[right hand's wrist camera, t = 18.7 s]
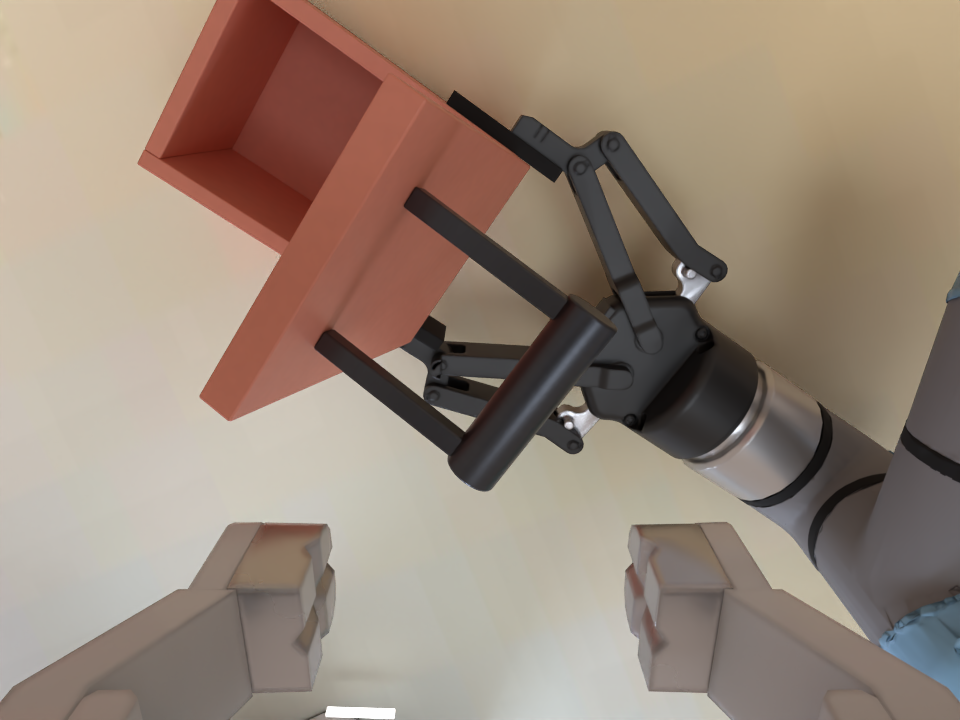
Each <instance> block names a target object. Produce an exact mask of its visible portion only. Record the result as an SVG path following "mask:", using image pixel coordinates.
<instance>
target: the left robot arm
mask: <svg viewBox="0 0 960 720" xmlns="http://www.w3.org/2000/svg"><path fill="white" fill-rule="evenodd" d="M446 104H447V105H449V106H450V107H451V108H453V109H454V110H455V111H457V112H458V113H460V114H461V115H462V116H464V117H465V118H466V119H468V120H469V121H471V122H472V123H473V124H475V125H476V126H477V127H479V128H480V129H482V130H483V131H484V132H486V133H487V134H488V135H490V136H491V137H493V138H494V139H495V140H497V141H498V142H499V143H501V144H502V145H503V146H505V147H506V148H508V149H509V150H510V151H512V152H513V153H514V154H516V155H517V156H518V157H519V158H521V159H522V160H524V161H525V162H526V163H528V164H529V165H531V166H532V167H533V168H535V169H536V170H537V171H539V172H540V173H542V174H543V175H544V176H546V177H547V178H549V179H550V180H551V181H553V182H554V183H555V181H556V180H557V178H558V177H559V175H560V174H561V173H562V171H563V172H565V175H566V177H567V180H568V182H569V185H570V187H571V189H572V192H573V194H574V197H575V199H576V202H577V204H578V207H579V209H580V211H581V214H582V216H583V219H584V221H585V224H586V226H587V229H588V231H589V234H590V236H591V238H592V241H593V243H594V246H595V248H596V251H597V253H598V256H599V258H600V260H601V263H602V265H603V268H604V270H605V273H606V277H607V279H608V282H609V284H610V287H611V289H612V292H613V295H611V296H610V297H608V298H607V299H606V298H604V297H603V299H602V300H601V301H600V303H599V304H598V305H597V306H596V309H598V310H599V311H600V312H601V313H603V314H604V315H605V316H606V317H607V318H609V319H610V320H611V321H612V322H613V323H614V324H615V326H616V327H617V333H616V334H615V335H614V336H613V338H612V339H611V340H610V341H609V343H608V344H607V345H606V346H605V348H604V349H603V350H602V351H601V353H600V354H599V355H598V356H597V358H596V359H595V360H594V361H593V363H592V364H591V365H590V366H589V368H588V369H587V370H586V371H585V373H584V374H583V375H582V376H581V378H580V379H579V380H578V381H577V383H576V384H575V385H574V386H579V387H581V390H582V393H583V396H584V399H585V404H583V405H582V406H580V407H573V406H570V405H565V404H563V405H561V406H560V407H559V408H556V409H555V410H554V412H553V413H552V414H551V415H550V417H549V418H548V419H547V420H546V422H545V423H544V424H543V425H542V427H541V428H540V429H539V430H538V432H537V433H536V435H540V436H543V437H546V438H547V439H548V440H550V441H551V442H553V443H554V444H556V445H557V446H558V447H560V448H561V449H563V450H564V451H566V452H567V453H569V454H576V453H579V452H580V451H581V450H582V449H583V445H584V443H583V440H582V438H583V437H584V436H585V434H586V433H587V432H588V431H589V430H590V429H591V428H592V427H593V426H594V425H595V423H596V422H597V421H598V420H599V419H603V420H613V421H617V422H620V423H622V424H623V425H625V426H626V427H628V428H629V429H631V430H632V431H634V432H635V433H637V434H638V435H640V436H641V437H643V438H645V439H646V440H648V441H649V442H651V443H652V444H654V445H655V446H657V447H658V448H660V449H662V450H663V451H665V452H666V453H668V454H669V455H671V456H673V457H674V458H677V459H682V461H683V463H684V464H685V465H687V466H688V467H689V468H691V469H692V470H694V471H695V472H697V473H699V474H700V475H702V476H703V477H705V478H707V479H708V480H710V481H711V482H713V483H714V484H716V485H718V486H719V487H721V488H722V489H724V490H726V491H727V492H729V493H730V494H732V495H734V496H735V497H737V498H738V499H740V500H741V501H743V502H744V503H746V504H747V505H749V506H751V507H752V508H754V509H755V510H757V511H758V512H760V513H761V514H763V515H764V516H766V517H767V518H769V519H770V520H772V521H773V522H775V523H776V524H777V525H779V526H780V527H781V528H783V529H784V530H785V531H786V532H787V533H789V534H790V535H791V536H792V537H793V539H794V540H795V541H796V542H797V543H798V545H799V546H800V548H801V549H802V550H803V552H804V553H805V554H806V556H807V557H808V558H809V560H810V561H811V562H812V564H813V565H814V566H815V568H816V569H817V570H818V571H819V572H820V573H821V574H822V576H823V577H824V578H825V580H826V581H827V583H828V584H829V585H830V587H831V588H832V589H833V591H834V592H835V593H836V595H837V596H838V598H839V599H840V600H841V602H842V603H843V604H844V606H845V607H846V609H847V610H848V611H849V613H850V614H851V615H852V617H853V618H854V619H855V621H856V622H857V624H858V625H859V626H860V628H861V629H862V630H863V632H864V633H865V635H866V636H867V637H868V639H869V640H870V641H871V642H872V643H873V644H875V645H877V646H878V647H880V648H882V649H884V650H885V651H887V652H889V653H890V654H892V655H894V656H895V657H897V658H899V659H900V660H902V661H904V662H905V663H907V664H909V665H911V666H912V667H914V668H916V669H917V670H919V671H921V672H922V673H924V674H926V675H927V676H929V677H931V678H932V679H934V680H936V681H938V682H939V683H941V684H943V685H944V686H946V687H948V688H949V689H950V691H951V692H952V693H953V694H954V696H955V697H956V698H957V699H958V700H959V702H960V272H959V274H958V276H957V278H956V280H955V283H954V285H953V287H952V289H951V290H950V291H949V292H948V294H947V298H946V303H948V304H947V307H946V310H945V313H944V316H943V318H942V321H941V324H940V327H939V330H938V333H937V336H936V339H935V341H934V344H933V347H932V350H931V353H930V356H929V359H928V361H927V364H926V367H925V370H924V373H923V376H922V379H921V382H920V384H919V387H918V390H917V393H916V396H915V399H914V402H913V405H912V407H911V410H910V413H909V416H908V419H907V420H906V423H905V426H904V428H903V431H902V434H901V435H900V438H899V441H898V444H897V446H896V449H895V452H894V453H893V452H891V451H887V450H886V449H885V448H883V447H882V446H880V445H879V444H877V443H876V442H875V441H873V440H872V439H870V438H869V437H868V436H866V435H865V434H863V433H862V432H860V431H859V430H857V429H856V428H854V427H853V426H851V425H850V424H848V423H847V422H845V421H844V420H842V419H841V418H839V417H838V416H836V415H835V414H833V413H832V412H830V411H829V410H827V409H826V408H824V407H823V406H822V405H821V404H820V403H819V402H817V401H816V400H815V399H814V398H812V397H811V396H810V395H808V394H807V393H805V392H804V391H803V390H801V389H800V388H798V387H797V386H796V385H794V384H793V383H791V382H790V381H789V380H787V379H786V378H784V377H783V376H782V375H780V374H779V373H778V372H776V371H775V370H773V369H772V368H771V367H769V366H768V365H766V364H764V363H763V362H761V361H756V360H755V358H754V357H753V355H752V354H751V353H749V352H748V351H746V350H745V349H744V348H742V347H741V346H739V345H738V344H737V343H735V342H734V341H732V340H731V339H730V338H728V337H727V336H725V335H724V334H723V333H721V332H720V331H718V330H717V329H716V328H714V327H713V326H711V325H710V324H709V323H707V322H706V321H704V320H703V319H702V318H701V317H700V316H699V314H698V312H697V309H696V307H695V305H694V304H695V303H696V301H697V300H698V299H699V297H700V296H701V295H702V293H703V292H704V290H705V289H706V288H707V286H708V285H709V284H710V282H718V281H721V280H722V279H723V278H724V277H725V276H726V274H727V269H728V268H727V265H726V264H725V263H724V262H723V261H722V260H720V259H719V258H717V257H716V256H714V255H713V254H711V253H710V252H708V251H706V250H705V249H703V248H702V247H700V246H699V245H698V244H697V243H696V241H695V240H694V239H693V237H692V236H691V234H690V233H689V231H688V230H687V228H686V227H685V225H684V224H683V223H682V221H681V220H680V218H679V217H678V215H677V214H676V212H675V211H674V209H673V208H672V207H671V205H670V204H669V202H668V201H667V199H666V198H665V196H664V195H663V194H662V192H661V191H660V189H659V188H658V186H657V185H656V183H655V182H654V180H653V179H652V178H651V176H650V175H649V173H648V172H647V170H646V169H645V167H644V166H643V165H642V163H641V162H640V160H639V159H638V157H637V156H636V154H635V153H634V151H633V150H632V149H631V147H630V146H629V144H628V143H627V141H626V140H625V138H624V137H623V136H622V135H621V134H620V133H618V132H613V131H601V132H599V133H598V134H597V135H596V136H595V137H594V138H593V139H591V140H590V141H589V142H587V143H586V144H584V145H583V146H580V147H573V146H571V145H569V144H568V143H567V142H565V141H564V140H563V139H561V138H560V137H559V136H557V135H556V134H555V133H553V132H552V131H551V130H549V129H548V128H547V127H545V126H544V125H542V124H541V123H540V122H538V121H537V120H536V119H534V118H533V117H528V116H524V115H521V116H520V117H519V119H518V120H517V122H516V124H515V125H514V127H513V128H512V130H511V131H509V130H508V129H507V128H505V127H504V126H503V125H501V124H500V123H499V122H497V121H496V120H494V119H493V118H492V117H490V116H489V115H488V114H486V113H485V112H483V111H482V110H481V109H479V108H478V107H477V106H475V105H474V104H473V103H471V102H470V101H468V100H467V99H466V98H464V97H463V96H462V95H460V94H459V93H457V92H456V91H455V90H454V92H453V93H452V95H451V97H450V98H449V100H448V101H447V103H446ZM603 164H605V165H606V166H607V168H608V169H609V171H610V172H611V173H612V175H613V176H614V178H615V179H616V180H617V182H618V183H619V185H620V186H621V188H622V189H623V190H624V192H625V193H626V195H627V196H628V197H629V199H630V200H631V202H632V203H633V204H634V206H635V207H636V209H637V210H638V212H639V213H640V214H641V216H642V217H643V219H644V220H645V221H646V223H647V224H648V226H649V227H650V228H651V230H652V231H653V233H654V234H655V236H656V237H657V238H658V240H659V241H660V243H661V244H662V245H663V246H664V248H665V249H666V250H667V251H668V252H669V253H670V254H671V255H672V256H674V257H675V258H676V260H675V261H674V263H673V265H672V272H673V274H674V275H675V277H676V278H677V280H678V288H677V289H676V291H649V292H643V289H642V287H641V284H640V282H639V280H638V278H637V276H636V274H635V272H634V270H633V267H632V264H631V262H630V259H629V257H628V254H627V252H626V249H625V247H624V244H623V242H622V239H621V237H620V234H619V231H618V229H617V226H616V224H615V221H614V219H613V216H612V214H611V211H610V209H609V206H608V203H607V201H606V198H605V196H604V193H603V191H602V188H601V186H600V183H599V181H598V178H597V175H596V173H595V170H596V169H598V168H599V167H600V166H602V165H603ZM445 331H446V326H445V325H443V324H442V323H440V322H439V321H437V320H436V319H434V318H432V317H431V316H428V317H427V319H426V320H425V322H424V323H423V324H422V326H421V327H420V329H419V330H418V332H417V333H416V335H415V336H414V338H413V339H412V341H411V342H410V343H407V344H405V345H403V346H401V347H400V348H402V349H403V350H405V351H406V352H408V353H409V354H411V355H413V356H414V357H416V358H417V359H419V360H421V361H422V362H423V363H424V364H425V365H426V367H427V369H428V374H427V378H426V383H425V388H424V394H423V397H424V400H425V401H426V402H427V403H428V404H430V405H433V406H437V407H440V408H444V409H447V410H451V411H455V412H458V413H462V414H465V415H469V416H472V417H476V418H477V416H478V415H479V414H480V412H481V411H482V410H483V408H484V407H485V406H486V404H487V403H488V402H489V400H490V399H491V398H492V396H493V395H494V394H495V392H496V391H497V390H498V388H497V387H494V386H491V385H487V384H484V383H480V382H477V381H473V380H470V379H466V378H463V377H459V376H464V377H481V378H498V379H506V378H507V376H508V375H509V374H510V372H511V371H512V370H513V368H514V367H515V366H516V365H517V363H518V362H519V361H520V359H521V358H522V357H523V355H524V354H525V353H526V351H527V350H528V349H529V347H530V346H519V345H502V344H485V343H468V342H451V341H444V337H445Z"/></svg>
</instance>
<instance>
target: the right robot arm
mask: <svg viewBox="0 0 960 720" xmlns="http://www.w3.org/2000/svg"><path fill="white" fill-rule="evenodd" d="M331 549H332V541H331V533H330V528H329V527H328V525H327V524H307V523H262V522H251V523H232V524H230V525H228V526H227V527H226V529H225V530H224V532H223V534H222V535H221V537H220V538H219V540H218V542H217V543H216V545H215V546H214V548H213V550H212V551H211V553H210V554H209V556H208V558H207V559H206V561H205V562H204V564H203V566H202V567H201V569H200V570H199V572H198V574H197V575H196V577H195V578H194V580H193V582H192V583H191V585H190V586H189V588H188V589H178V590H176V591H174V592H173V593H171V594H169V595H168V596H166V597H164V598H162V599H161V600H159V601H157V602H156V603H154V604H152V605H151V606H149V607H147V608H146V609H144V610H142V611H140V612H139V613H137V614H135V615H134V616H132V617H130V618H129V619H127V620H125V621H124V622H122V623H120V624H118V625H117V626H115V627H113V628H112V629H110V630H108V631H107V632H105V633H103V634H102V635H100V636H98V637H96V638H95V639H93V640H91V641H90V642H88V643H86V644H85V645H83V646H81V647H80V648H78V649H76V650H74V651H73V652H71V653H69V654H68V655H66V656H64V657H63V658H61V659H59V660H57V661H56V662H54V663H52V664H51V665H49V666H47V667H46V668H44V669H42V670H41V671H39V672H37V673H35V674H34V675H32V676H30V677H29V678H27V679H25V680H24V681H22V682H20V683H19V684H17V685H15V686H13V688H12V689H11V690H10V691H9V692H8V694H7V695H6V696H5V697H4V698H3V700H2V701H1V702H0V720H229V719H230V718H231V717H232V716H233V715H234V714H235V713H236V712H237V711H238V710H239V709H240V708H241V707H242V706H243V705H244V704H245V703H246V702H247V701H248V700H249V699H250V698H251V697H252V693H265V692H299V691H312V688H313V684H314V681H315V678H316V675H317V671H318V668H319V665H320V661H321V658H322V647H321V639H322V638H323V637H324V636H325V635H326V634H328V633H329V631H330V627H331V623H332V619H333V614H334V606H335V592H336V583H335V571H334V570H333V568H332V567H331V566H330V565H329V564H328V563H327V561H328V558H329V555H330V552H331ZM628 549H629V552H630V555H631V558H632V561H633V563H632V564H631V565H630V566H629V567H628V568H627V570H626V571H625V586H624V592H625V608H626V614H627V620H628V623H629V627H630V631H631V633H632V634H634V635H635V636H636V637H637V638H638V639H639V647H638V658H639V661H640V664H641V668H642V671H643V674H644V678H645V681H646V684H647V688H648V691H659V692H695V693H708V695H707V696H708V697H709V698H710V699H711V700H712V701H713V702H714V703H715V704H716V705H717V706H718V707H719V708H720V709H721V710H722V711H723V712H724V713H725V714H726V715H727V716H728V717H729V718H730V719H731V720H960V702H959V700H958V699H957V698H956V697H955V696H954V694H953V693H952V692H951V691H950V689H949V688H948V687H946V686H944V685H943V684H941V683H939V682H938V681H936V680H934V679H932V678H931V677H929V676H927V675H926V674H924V673H922V672H921V671H919V670H917V669H916V668H914V667H912V666H911V665H909V664H907V663H905V662H904V661H902V660H900V659H899V658H897V657H895V656H894V655H892V654H890V653H889V652H887V651H885V650H884V649H882V648H880V647H878V646H877V645H875V644H873V643H872V642H870V641H868V640H867V639H865V638H863V637H862V636H860V635H858V634H857V633H855V632H853V631H852V630H850V629H848V628H846V627H845V626H843V625H841V624H840V623H838V622H836V621H835V620H833V619H831V618H830V617H828V616H826V615H825V614H823V613H821V612H819V611H818V610H816V609H814V608H813V607H811V606H809V605H808V604H806V603H804V602H803V601H801V600H799V599H798V598H796V597H794V596H792V595H791V594H789V593H787V592H786V591H784V590H782V589H772V588H771V586H770V585H769V583H768V582H767V580H766V578H765V577H764V575H763V574H762V572H761V571H760V569H759V567H758V566H757V564H756V563H755V561H754V560H753V558H752V556H751V555H750V553H749V552H748V550H747V548H746V547H745V545H744V544H743V542H742V541H741V539H740V537H739V536H738V534H737V533H736V531H735V529H734V528H733V526H732V525H731V524H729V523H727V522H713V523H695V524H649V525H631V529H630V532H629V540H628ZM394 716H395V709H384V708H352V707H327V711H326V712H325V713H323V714H320V715H318V716H316V717H314V718H312V719H309V720H357V719H355V718H383V719H394Z"/></svg>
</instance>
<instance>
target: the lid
mask: <svg viewBox="0 0 960 720" xmlns="http://www.w3.org/2000/svg"><path fill="white" fill-rule="evenodd" d="M529 168H530V165H528V164H527V163H526V162H524V161H523V160H522V159H520V158H519V157H517V156H516V155H515V154H513V153H512V152H511V151H509V150H507V149H506V148H504V147H503V146H501V145H500V144H498V143H497V142H495V141H494V140H492V139H491V138H489V137H488V136H486V135H485V134H483V133H482V132H480V131H479V130H477V129H476V128H474V127H473V126H471V125H470V124H468V123H467V122H465V121H463V120H462V119H460V118H459V117H457V116H456V115H454V114H453V113H451V112H450V111H448V110H447V109H445V108H444V107H442V106H441V105H439V104H438V103H436V102H435V101H433V100H432V99H430V98H429V97H427V96H426V95H424V94H423V93H421V92H419V91H418V90H416V89H415V88H413V87H412V86H410V85H409V84H407V83H406V82H404V81H403V80H401V79H400V78H398V77H397V76H395V75H394V74H392V73H388V74H387V76H386V78H385V80H384V81H383V83H382V85H381V86H380V88H379V90H378V91H377V93H376V95H375V97H374V98H373V100H372V102H371V103H370V105H369V107H368V109H367V110H366V112H365V114H364V115H363V117H362V119H361V121H360V122H359V124H358V126H357V127H356V129H355V131H354V132H353V134H352V136H351V138H350V139H349V141H348V143H347V144H346V146H345V148H344V150H343V151H342V153H341V155H340V156H339V158H338V160H337V162H336V163H335V165H334V167H333V168H332V170H331V172H330V174H329V175H328V177H327V179H326V180H325V182H324V184H323V185H322V187H321V189H320V191H319V192H318V194H317V196H316V197H315V199H314V201H313V203H312V204H311V206H310V208H309V209H308V211H307V213H306V215H305V216H304V218H303V220H302V221H301V223H300V225H299V227H298V228H297V230H296V232H295V233H294V235H293V237H292V238H291V240H290V242H289V244H288V245H287V247H286V249H285V250H284V252H283V254H282V256H281V257H280V259H279V261H278V262H277V264H276V266H275V268H274V269H273V271H272V273H271V274H270V276H269V278H268V279H267V281H266V283H265V285H264V286H263V288H262V290H261V291H260V293H259V295H258V297H257V298H256V300H255V302H254V303H253V305H252V307H251V309H250V310H249V312H248V314H247V315H246V317H245V319H244V321H243V322H242V324H241V326H240V327H239V329H238V331H237V332H236V334H235V336H234V338H233V339H232V341H231V343H230V344H229V346H228V348H227V350H226V351H225V353H224V355H223V356H222V358H221V360H220V362H219V363H218V365H217V367H216V368H215V370H214V372H213V374H212V375H211V377H210V379H209V380H208V382H207V384H206V385H205V387H204V389H203V391H202V392H201V394H200V398H201V399H202V400H203V401H204V402H206V403H207V404H208V405H209V406H211V407H212V408H213V409H214V410H215V411H217V412H218V413H219V414H220V415H222V416H223V417H224V418H225V419H226V420H228V421H232V420H235V419H237V418H239V417H242V416H244V415H246V414H248V413H251V412H253V411H255V410H257V409H260V408H262V407H264V406H267V405H269V404H271V403H273V402H276V401H278V400H280V399H282V398H285V397H287V396H289V395H292V394H294V393H296V392H298V391H301V390H303V389H305V388H307V387H310V386H312V385H314V384H317V383H319V382H321V381H323V380H326V379H328V378H330V377H332V376H335V375H337V374H339V373H342V372H344V373H345V374H346V375H348V376H349V377H350V378H352V379H353V380H354V381H355V382H357V383H358V384H359V385H360V386H362V387H363V388H364V389H365V390H367V391H368V392H369V393H370V394H372V395H373V396H374V397H376V398H377V399H378V400H379V401H381V402H382V403H383V404H384V405H386V406H387V407H388V408H389V409H391V410H392V411H393V412H394V413H396V414H397V415H398V416H400V417H401V418H402V419H403V420H405V421H406V422H407V423H408V424H410V425H411V426H412V427H413V428H415V429H416V430H417V431H418V432H420V433H421V434H422V435H424V436H425V437H426V438H427V439H429V440H430V441H431V442H432V443H434V444H435V445H436V446H437V447H439V448H440V449H441V450H442V451H444V452H445V453H446V454H448V464H449V466H450V468H451V470H452V471H453V472H454V474H455V475H456V476H457V477H458V478H459V479H460V480H461V481H463V482H464V483H465V484H467V485H468V486H470V487H472V488H474V489H476V490H479V491H489V490H491V489H492V488H493V487H494V486H495V484H496V483H497V482H498V481H499V479H500V478H501V477H502V476H503V474H504V473H505V472H506V471H507V469H508V468H509V467H510V466H511V464H512V463H513V462H514V461H515V459H516V458H517V457H518V456H519V454H520V453H521V452H522V451H523V449H524V448H525V447H526V446H527V444H528V443H529V442H530V440H531V439H532V438H533V437H534V435H535V434H536V433H537V432H538V430H539V429H540V428H541V427H542V425H543V424H544V423H545V422H546V420H547V419H548V418H549V417H550V415H551V414H552V413H553V412H554V410H555V409H556V408H557V407H558V405H559V404H560V403H561V402H562V400H563V399H564V398H565V397H566V395H567V394H568V393H569V392H570V390H571V389H572V388H573V386H574V385H575V384H576V383H577V381H578V380H579V379H580V378H581V376H582V375H583V374H584V373H585V371H586V370H587V369H588V368H589V366H590V365H591V364H592V363H593V361H594V360H595V359H596V358H597V356H598V355H599V354H600V353H601V351H602V350H603V349H604V348H605V346H606V345H607V344H608V343H609V341H610V340H611V339H612V338H613V336H614V335H615V334H616V333H617V327H616V326H615V324H614V323H613V322H612V321H611V320H610V319H609V318H607V317H606V316H605V315H604V314H603V313H601V312H600V311H599V310H598V309H596V308H595V307H593V306H592V305H591V304H589V303H588V302H586V301H585V300H583V299H581V298H580V297H578V296H576V295H572V294H571V295H569V296H567V295H565V294H564V293H563V292H561V291H560V290H559V289H557V288H556V287H555V286H553V285H552V284H551V283H549V282H548V281H547V280H545V279H544V278H543V277H541V276H540V275H539V274H537V273H536V272H535V271H533V270H532V269H531V268H529V267H528V266H527V265H525V264H524V263H523V262H521V261H520V260H519V259H517V258H516V257H515V256H513V255H512V254H511V253H509V252H508V251H507V250H505V249H504V248H503V247H501V246H500V245H499V244H497V243H496V242H495V241H493V240H492V239H491V238H489V237H488V236H487V235H485V233H486V231H487V230H488V228H489V227H490V225H491V224H492V222H493V221H494V219H495V218H496V217H497V215H498V214H499V212H500V211H501V209H502V208H503V206H504V205H505V203H506V202H507V200H508V199H509V198H510V196H511V195H512V193H513V192H514V190H515V189H516V187H517V186H518V184H519V183H520V182H521V180H522V179H523V177H524V176H525V174H526V173H527V171H528V170H529ZM468 257H470V258H471V259H473V260H474V261H475V262H477V263H478V264H479V265H481V266H482V267H483V268H485V269H486V270H487V271H489V272H490V273H491V274H493V275H494V276H495V277H497V278H498V279H499V280H501V281H502V282H503V283H505V284H506V285H507V286H508V287H510V288H511V289H512V290H514V291H515V292H516V293H518V294H519V295H520V296H522V297H523V298H524V299H526V300H527V301H528V302H530V303H531V304H532V305H534V306H535V307H536V308H538V309H539V310H540V311H542V312H543V313H544V314H546V315H547V316H548V317H549V318H551V319H550V321H549V322H548V323H547V325H546V326H545V327H544V329H543V330H542V331H541V333H540V334H539V335H538V337H537V338H536V339H535V341H534V342H533V343H532V345H531V346H530V347H529V349H528V350H527V351H526V353H525V354H524V355H523V357H522V358H521V359H520V361H519V362H518V363H517V365H516V366H515V367H514V368H513V370H512V371H511V372H510V374H509V375H508V376H507V378H506V379H505V380H504V382H503V383H502V384H501V386H500V387H499V388H498V390H497V391H496V392H495V394H494V395H493V396H492V398H491V399H490V400H489V402H488V403H487V404H486V406H485V407H484V408H483V410H482V411H481V412H480V414H479V415H478V416H477V418H476V419H475V420H474V422H473V423H472V424H471V425H470V427H469V428H468V429H467V431H466V432H464V431H463V430H462V429H460V428H459V427H458V426H456V425H455V424H454V423H453V422H451V421H450V420H449V419H448V418H446V417H445V416H444V415H442V414H441V413H440V412H439V411H437V410H436V409H435V408H434V407H432V406H431V405H430V404H428V403H427V402H426V401H425V400H423V399H422V398H421V397H420V396H418V395H417V394H416V393H414V392H413V391H412V390H411V389H409V388H408V387H407V386H406V385H404V384H403V383H402V382H400V381H399V380H398V379H397V378H395V377H394V376H393V375H392V374H390V373H389V372H388V371H386V370H385V369H384V368H383V367H381V366H380V365H379V364H378V363H376V362H375V361H374V360H372V359H373V358H376V357H378V356H380V355H382V354H385V353H387V352H389V351H391V350H394V349H396V348H398V347H401V346H403V345H405V344H407V343H410V342H411V341H412V339H413V338H414V336H415V335H416V333H417V332H418V330H419V329H420V327H421V326H422V324H423V323H424V322H425V320H426V319H427V317H428V316H429V314H430V313H431V311H432V310H433V308H434V307H435V306H436V304H437V303H438V301H439V300H440V298H441V297H442V295H443V294H444V292H445V291H446V289H447V288H448V287H449V285H450V284H451V282H452V281H453V279H454V278H455V276H456V275H457V273H458V272H459V271H460V269H461V268H462V266H463V265H464V263H465V262H466V260H467V259H468Z"/></svg>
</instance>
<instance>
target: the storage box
mask: <svg viewBox="0 0 960 720" xmlns="http://www.w3.org/2000/svg"><path fill="white" fill-rule="evenodd" d="M388 73H392V74H394V75H395V76H397V77H398V78H400V79H401V80H403V81H404V82H406V83H407V84H409V85H410V86H412V87H413V88H415V89H416V90H418V91H419V92H421V93H423V94H424V95H426V96H427V97H429V98H430V99H432V100H433V101H435V102H436V103H438V104H439V105H441V106H442V107H444V108H445V109H447V110H448V111H450V112H451V113H453V114H454V115H456V116H457V117H459V118H460V119H462V120H463V121H465V122H467V123H468V124H470V125H471V126H473V127H474V128H476V129H477V130H479V131H480V132H482V133H483V134H485V135H486V136H488V137H489V138H491V139H492V140H494V141H495V142H497V143H498V144H500V145H501V146H503V145H502V144H501V143H499V142H498V141H497V140H495V139H494V138H493V137H491V136H490V135H488V134H487V133H486V132H484V131H483V130H482V129H480V128H479V127H477V126H476V125H475V124H473V123H472V122H471V121H469V120H468V119H466V118H465V117H464V116H462V115H461V114H460V113H458V112H457V111H455V110H454V109H453V108H451V107H450V106H449V105H447V104H446V103H447V102H446V101H444V100H443V99H442V98H440V97H439V96H438V95H436V94H435V93H433V92H432V91H431V90H429V89H428V88H427V87H425V86H424V85H422V84H421V83H420V82H418V81H417V80H416V79H414V78H413V77H411V76H410V75H409V74H407V73H406V72H405V71H403V70H402V69H401V68H399V67H398V66H396V65H395V64H394V63H392V62H391V61H390V60H388V59H387V58H385V57H384V56H383V55H381V54H380V53H379V52H377V51H376V50H374V49H373V48H372V47H370V46H369V45H368V44H366V43H365V42H363V41H362V40H361V39H359V38H358V37H357V36H355V35H354V34H352V33H351V32H350V31H348V30H347V29H346V28H344V27H343V26H342V25H340V24H339V23H337V22H336V21H335V20H333V19H332V18H331V17H329V16H328V15H326V14H325V13H324V12H322V11H321V10H320V9H318V8H317V7H315V6H314V5H313V4H311V3H310V2H309V1H307V0H217V1H216V3H215V5H214V7H213V9H212V11H211V13H210V15H209V17H208V19H207V21H206V23H205V25H204V28H203V30H202V32H201V34H200V36H199V38H198V40H197V42H196V44H195V46H194V48H193V50H192V52H191V54H190V56H189V59H188V61H187V63H186V65H185V67H184V69H183V71H182V73H181V75H180V77H179V79H178V81H177V83H176V85H175V87H174V89H173V92H172V94H171V96H170V98H169V100H168V102H167V104H166V106H165V108H164V110H163V112H162V114H161V116H160V118H159V120H158V123H157V125H156V127H155V129H154V131H153V133H152V135H151V137H150V139H149V141H148V143H147V145H146V147H145V149H146V150H144V151H143V153H142V155H141V157H140V159H139V161H138V165H140V166H141V167H143V168H144V169H146V170H148V171H149V172H151V173H152V174H154V175H156V176H157V177H159V178H160V179H162V180H163V181H165V182H167V183H168V184H170V185H171V186H173V187H175V188H176V189H178V190H179V191H181V192H182V193H184V194H186V195H187V196H189V197H190V198H192V199H194V200H195V201H197V202H198V203H200V204H201V205H203V206H205V207H206V208H208V209H209V210H211V211H213V212H214V213H216V214H217V215H219V216H220V217H222V218H224V219H225V220H227V221H228V222H230V223H232V224H233V225H235V226H236V227H238V228H240V229H241V230H243V231H244V232H246V233H247V234H249V235H251V236H252V237H254V238H255V239H257V240H259V241H260V242H262V243H263V244H265V245H266V246H268V247H270V248H271V249H273V250H274V251H276V252H278V253H279V254H281V255H282V254H283V252H284V250H285V249H286V247H287V245H288V244H289V242H290V240H291V238H292V237H293V235H294V233H295V232H296V230H297V228H298V227H299V225H300V223H301V221H302V220H303V218H304V216H305V215H306V213H307V211H308V209H309V208H310V206H311V204H312V203H313V201H314V199H315V197H316V196H317V194H318V192H319V191H320V189H321V187H322V185H323V184H324V182H325V180H326V179H327V177H328V175H329V174H330V172H331V170H332V168H333V167H334V165H335V163H336V162H337V160H338V158H339V156H340V155H341V153H342V151H343V150H344V148H345V146H346V144H347V143H348V141H349V139H350V138H351V136H352V134H353V132H354V131H355V129H356V127H357V126H358V124H359V122H360V121H361V119H362V117H363V115H364V114H365V112H366V110H367V109H368V107H369V105H370V103H371V102H372V100H373V98H374V97H375V95H376V93H377V91H378V90H379V88H380V86H381V85H382V83H383V81H384V80H385V78H386V76H387V74H388ZM503 147H504V148H506V147H505V146H503ZM506 149H507V150H509V149H508V148H506ZM509 151H510V150H509ZM511 152H512V151H511ZM512 153H513V152H512ZM513 154H514V153H513ZM515 155H516V154H515ZM516 156H517V155H516ZM517 157H518V156H517Z"/></svg>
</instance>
